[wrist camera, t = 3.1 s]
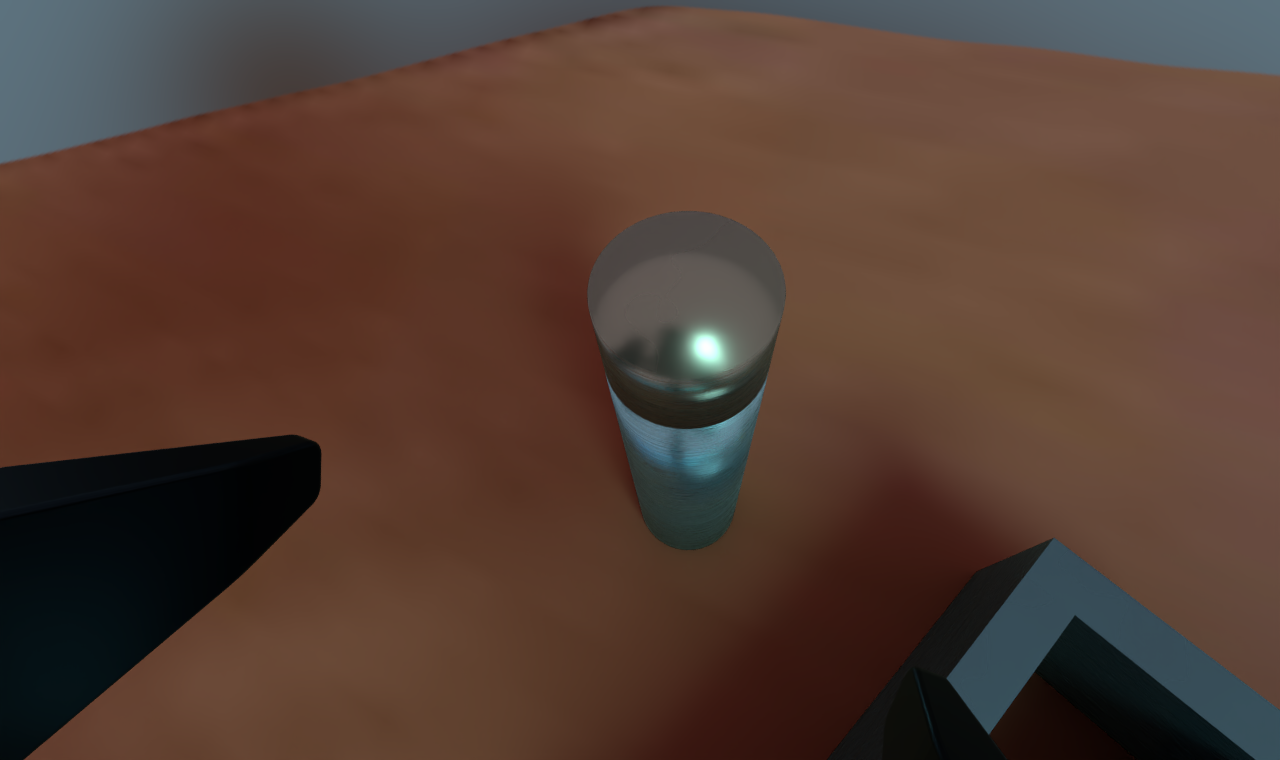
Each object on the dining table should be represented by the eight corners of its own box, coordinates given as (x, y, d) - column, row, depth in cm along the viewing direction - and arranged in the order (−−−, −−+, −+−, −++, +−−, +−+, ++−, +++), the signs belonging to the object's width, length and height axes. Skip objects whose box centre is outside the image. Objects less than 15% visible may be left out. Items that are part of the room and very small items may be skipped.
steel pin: (688, 570, 19) (687, 416, 9) (621, 502, 21) (547, 291, 10) (754, 502, 20) (827, 284, 10) (686, 440, 21) (683, 182, 11)
